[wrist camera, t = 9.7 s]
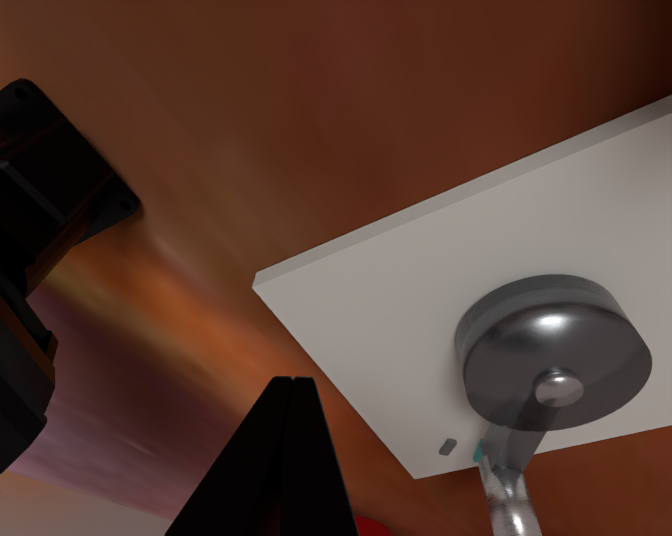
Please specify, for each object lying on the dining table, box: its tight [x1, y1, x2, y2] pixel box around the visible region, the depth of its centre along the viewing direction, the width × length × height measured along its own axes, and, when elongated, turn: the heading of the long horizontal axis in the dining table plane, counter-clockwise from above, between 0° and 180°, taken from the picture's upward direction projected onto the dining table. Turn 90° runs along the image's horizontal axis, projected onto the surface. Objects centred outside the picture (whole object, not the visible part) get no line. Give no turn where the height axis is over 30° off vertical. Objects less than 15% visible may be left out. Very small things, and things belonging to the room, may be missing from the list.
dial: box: [455, 274, 652, 536], centre depth 22 cm, size 14×8×7 cm, turn 178°
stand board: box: [252, 95, 672, 479], centre depth 24 cm, size 21×21×2 cm
